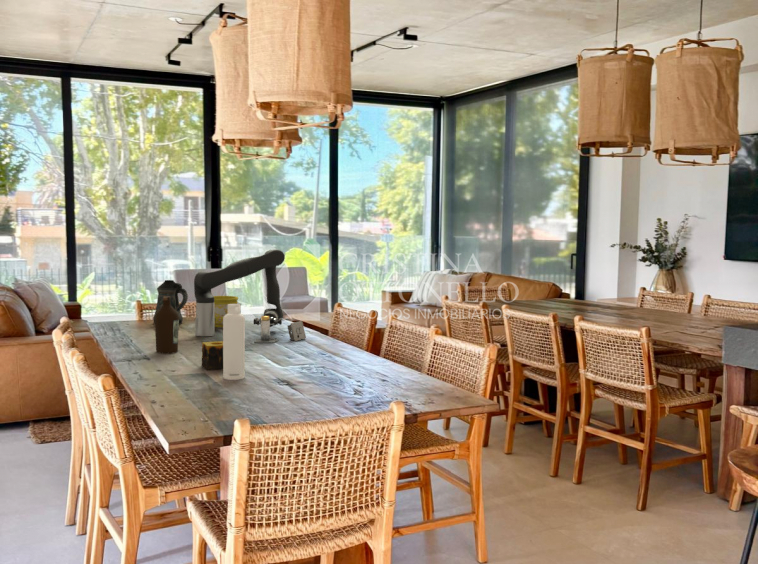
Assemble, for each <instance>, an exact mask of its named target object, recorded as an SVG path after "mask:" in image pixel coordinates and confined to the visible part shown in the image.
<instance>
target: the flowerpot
mask: <svg viewBox="0 0 758 564" xmlns="http://www.w3.org/2000/svg"><path fill="white" fill-rule="evenodd" d="M213 296H214V328H223V317H224V316H225V315H226V314H228V304H239V302H238V300H239V297H238V296H233V295H213Z"/></svg>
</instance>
